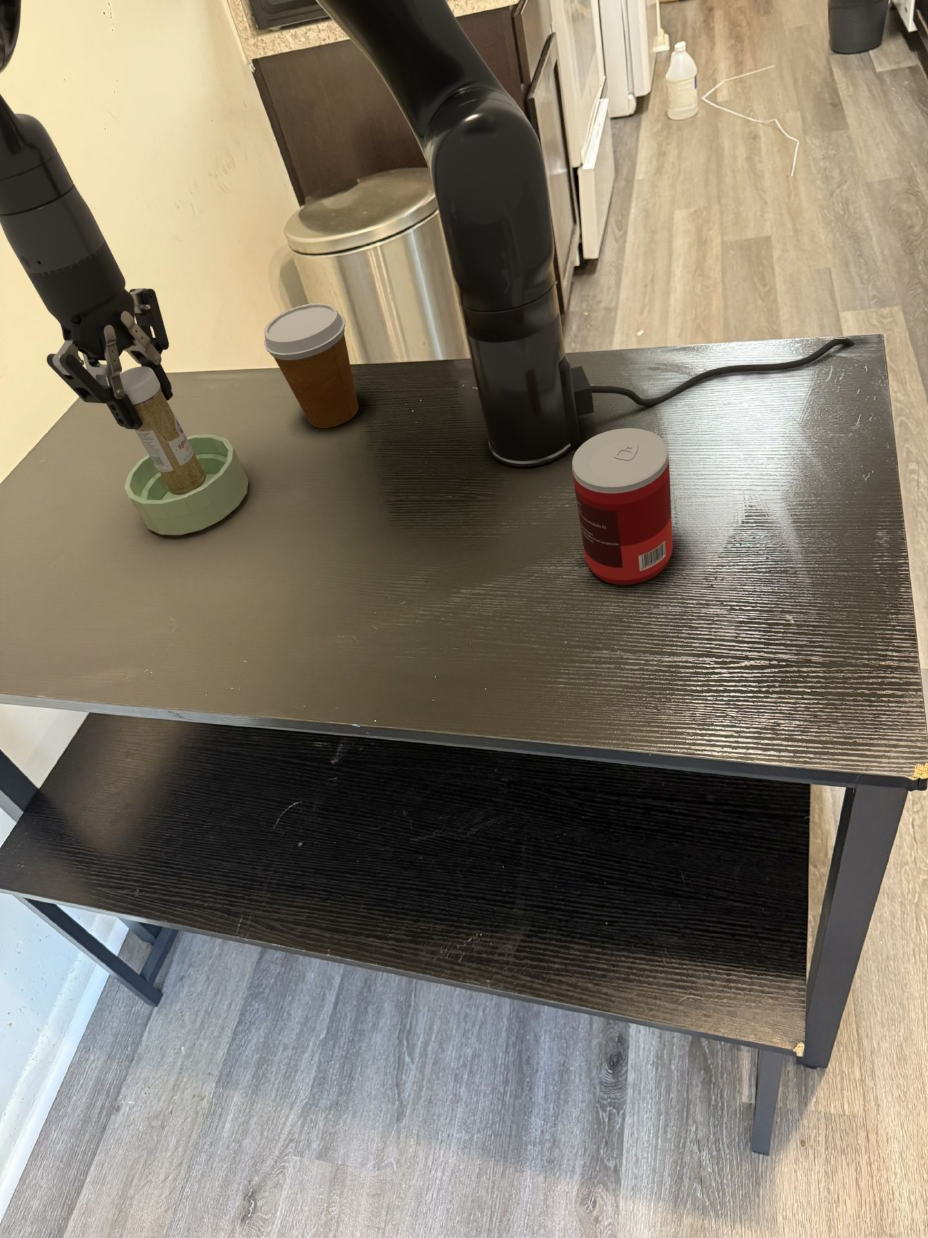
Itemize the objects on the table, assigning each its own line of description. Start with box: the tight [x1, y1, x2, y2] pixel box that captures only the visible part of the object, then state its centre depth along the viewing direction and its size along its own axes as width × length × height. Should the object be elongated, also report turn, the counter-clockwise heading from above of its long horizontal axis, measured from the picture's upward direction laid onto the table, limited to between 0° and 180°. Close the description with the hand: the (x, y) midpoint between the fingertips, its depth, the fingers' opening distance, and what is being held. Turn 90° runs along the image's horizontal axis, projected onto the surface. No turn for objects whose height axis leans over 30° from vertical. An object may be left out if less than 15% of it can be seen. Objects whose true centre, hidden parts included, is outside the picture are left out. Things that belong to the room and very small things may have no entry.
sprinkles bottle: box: [120, 365, 206, 495], centre depth 91 cm, size 5×5×13 cm
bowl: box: [124, 434, 249, 536], centre depth 96 cm, size 12×12×5 cm
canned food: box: [571, 427, 674, 586], centre depth 73 cm, size 8×8×11 cm
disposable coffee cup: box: [263, 302, 359, 429], centre depth 101 cm, size 10×10×12 cm
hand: (149, 411), depth 89 cm, fingers closed on sprinkles bottle, 4 cm apart
